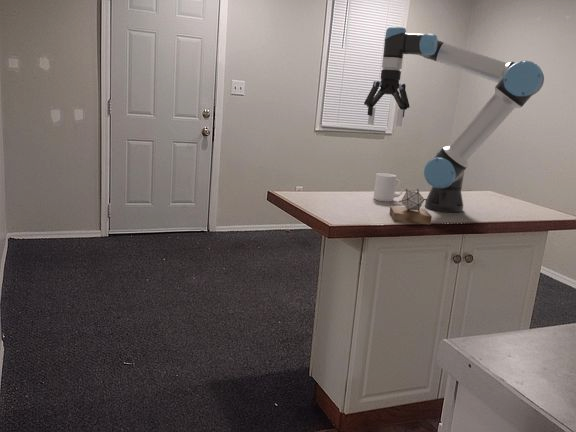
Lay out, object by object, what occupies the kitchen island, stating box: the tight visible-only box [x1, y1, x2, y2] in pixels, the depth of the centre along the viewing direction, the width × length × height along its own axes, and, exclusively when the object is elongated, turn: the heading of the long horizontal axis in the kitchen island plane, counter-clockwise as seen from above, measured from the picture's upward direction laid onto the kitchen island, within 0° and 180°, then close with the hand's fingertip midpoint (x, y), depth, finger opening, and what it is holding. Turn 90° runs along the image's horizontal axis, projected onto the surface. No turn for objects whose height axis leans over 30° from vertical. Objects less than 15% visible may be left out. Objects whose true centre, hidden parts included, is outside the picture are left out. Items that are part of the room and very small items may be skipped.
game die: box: [398, 188, 427, 212], centre depth 191 cm, size 9×8×10 cm
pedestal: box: [388, 205, 433, 225], centre depth 192 cm, size 13×12×3 cm
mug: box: [373, 172, 404, 202], centre depth 224 cm, size 9×12×11 cm
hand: (384, 125), depth 209 cm, fingers open, 13 cm apart
